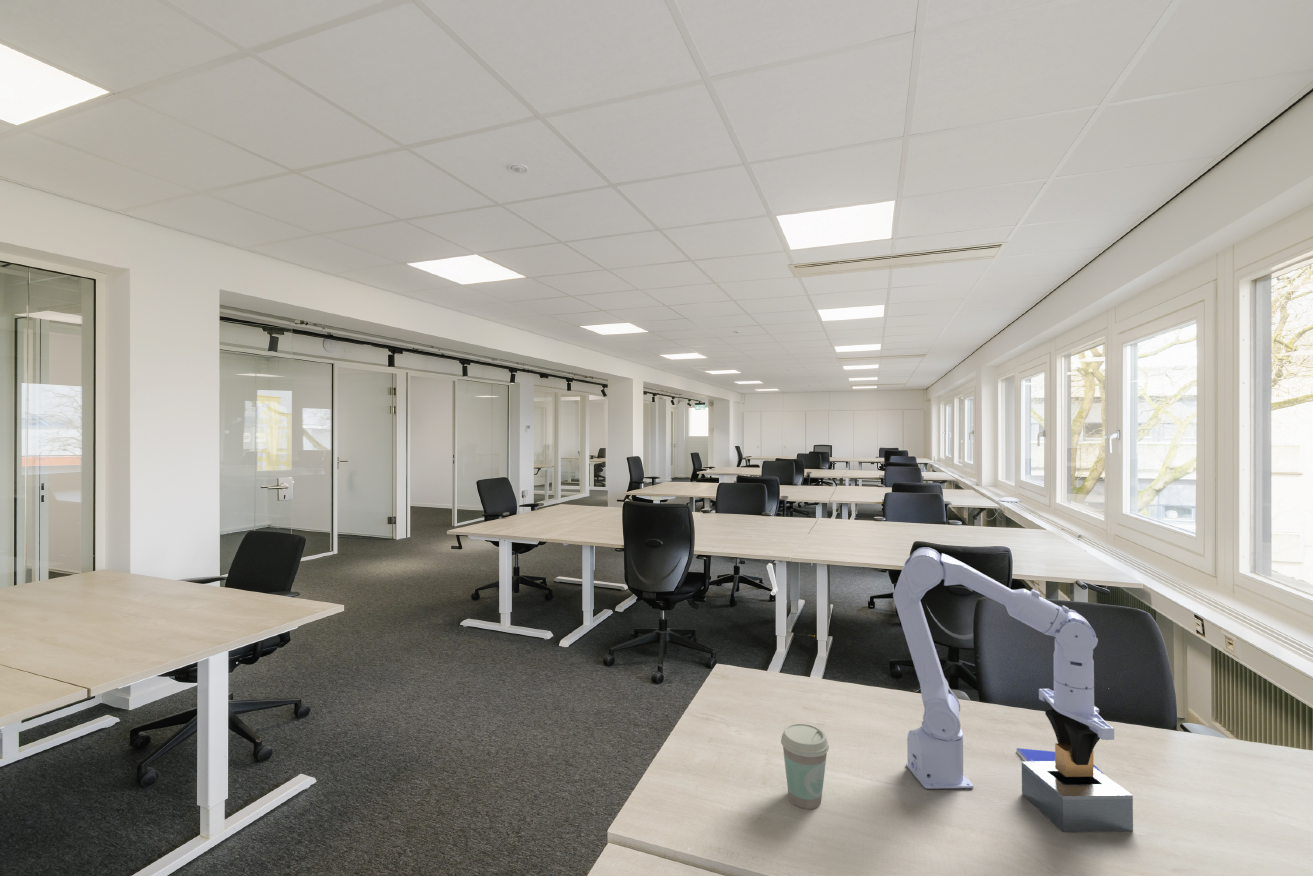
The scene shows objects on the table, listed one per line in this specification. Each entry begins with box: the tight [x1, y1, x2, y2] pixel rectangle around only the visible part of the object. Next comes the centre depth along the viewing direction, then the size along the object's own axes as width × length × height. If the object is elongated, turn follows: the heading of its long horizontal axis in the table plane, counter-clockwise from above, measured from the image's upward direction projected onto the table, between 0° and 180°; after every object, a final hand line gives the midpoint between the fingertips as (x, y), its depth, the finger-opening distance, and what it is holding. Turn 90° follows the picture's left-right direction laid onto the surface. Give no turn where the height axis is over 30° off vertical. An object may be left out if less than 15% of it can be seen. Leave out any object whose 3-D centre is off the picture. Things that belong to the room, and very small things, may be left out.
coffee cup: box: [780, 722, 830, 810], centre depth 100 cm, size 8×8×12 cm
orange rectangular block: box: [1054, 742, 1095, 777], centre depth 96 cm, size 5×2×4 cm, turn 91°
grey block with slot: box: [1021, 760, 1134, 833], centre depth 96 cm, size 12×10×6 cm
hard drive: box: [1016, 747, 1104, 774], centre depth 110 cm, size 2×8×12 cm
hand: (1074, 759), depth 96 cm, fingers closed on orange rectangular block, 2 cm apart
